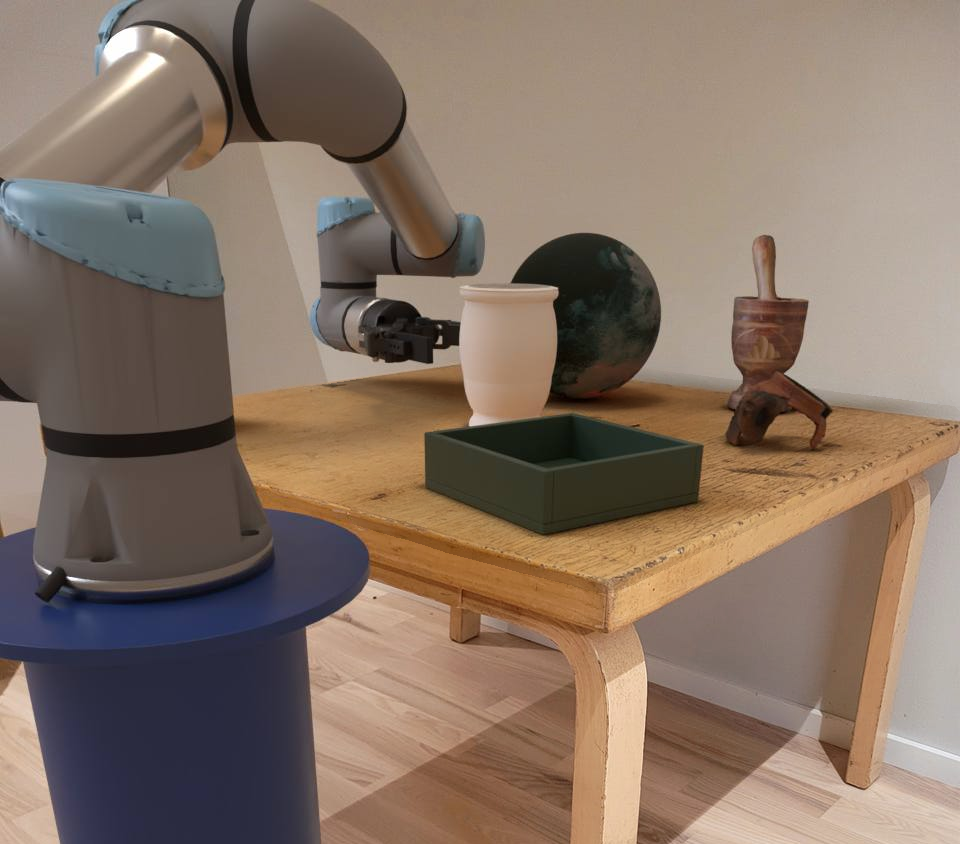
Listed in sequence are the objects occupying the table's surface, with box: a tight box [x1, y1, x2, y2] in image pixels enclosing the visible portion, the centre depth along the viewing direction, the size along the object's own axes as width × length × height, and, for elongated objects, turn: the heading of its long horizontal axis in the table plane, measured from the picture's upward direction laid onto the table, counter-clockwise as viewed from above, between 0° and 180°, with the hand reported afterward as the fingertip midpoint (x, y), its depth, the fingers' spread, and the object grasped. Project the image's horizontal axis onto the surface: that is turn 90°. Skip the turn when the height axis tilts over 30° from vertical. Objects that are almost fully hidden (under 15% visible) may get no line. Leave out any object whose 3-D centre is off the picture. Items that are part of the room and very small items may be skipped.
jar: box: [458, 282, 559, 427], centre depth 104 cm, size 11×10×15 cm
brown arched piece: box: [724, 371, 834, 450], centre depth 99 cm, size 12×10×8 cm
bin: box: [423, 412, 705, 536], centre depth 81 cm, size 17×17×5 cm
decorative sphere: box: [510, 232, 662, 400], centre depth 122 cm, size 20×20×20 cm
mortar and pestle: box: [727, 234, 810, 413], centre depth 117 cm, size 12×9×20 cm
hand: (481, 347), depth 108 cm, fingers open, 13 cm apart
